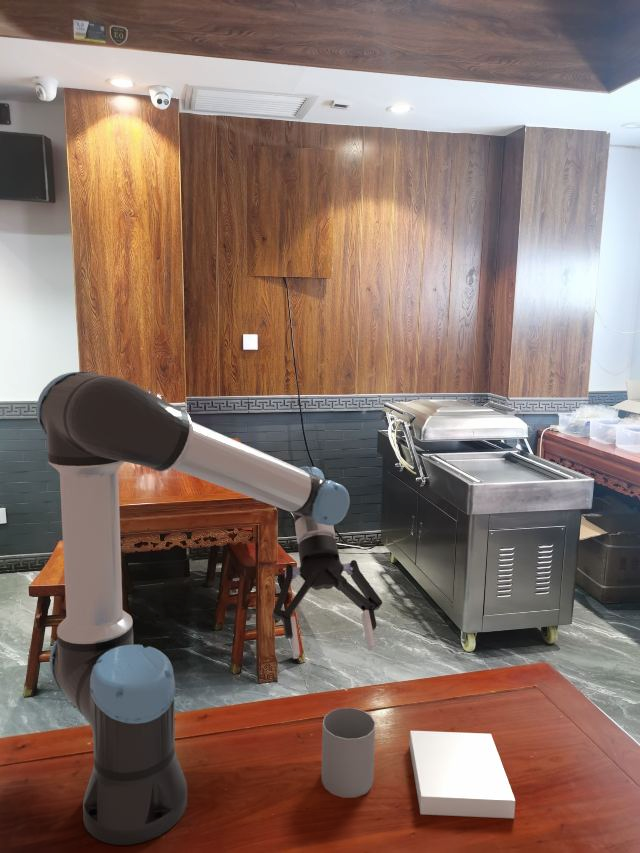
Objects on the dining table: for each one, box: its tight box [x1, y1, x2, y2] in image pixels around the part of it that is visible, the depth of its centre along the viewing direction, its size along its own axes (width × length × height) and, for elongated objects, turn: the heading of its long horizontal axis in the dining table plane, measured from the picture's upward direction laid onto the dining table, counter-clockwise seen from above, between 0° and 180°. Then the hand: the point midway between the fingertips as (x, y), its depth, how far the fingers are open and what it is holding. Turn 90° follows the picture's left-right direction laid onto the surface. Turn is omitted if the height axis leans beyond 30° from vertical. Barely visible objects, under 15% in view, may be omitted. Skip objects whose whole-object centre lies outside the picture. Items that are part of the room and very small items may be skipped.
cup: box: [320, 707, 376, 799], centre depth 104 cm, size 8×8×10 cm
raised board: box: [409, 730, 516, 819], centre depth 105 cm, size 14×16×3 cm
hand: (334, 652), depth 113 cm, fingers open, 13 cm apart
